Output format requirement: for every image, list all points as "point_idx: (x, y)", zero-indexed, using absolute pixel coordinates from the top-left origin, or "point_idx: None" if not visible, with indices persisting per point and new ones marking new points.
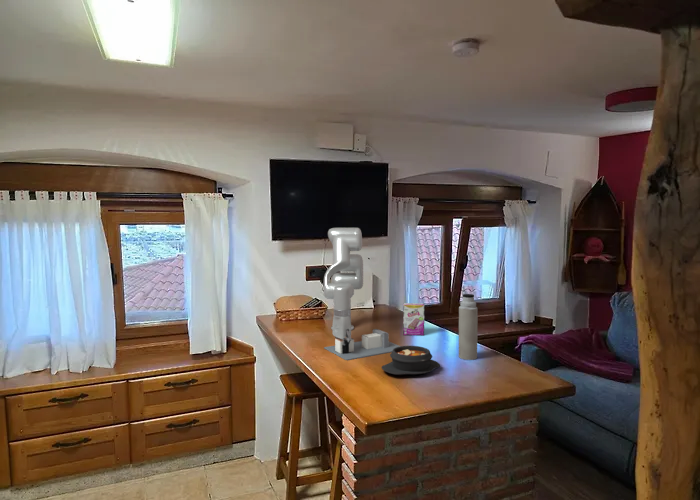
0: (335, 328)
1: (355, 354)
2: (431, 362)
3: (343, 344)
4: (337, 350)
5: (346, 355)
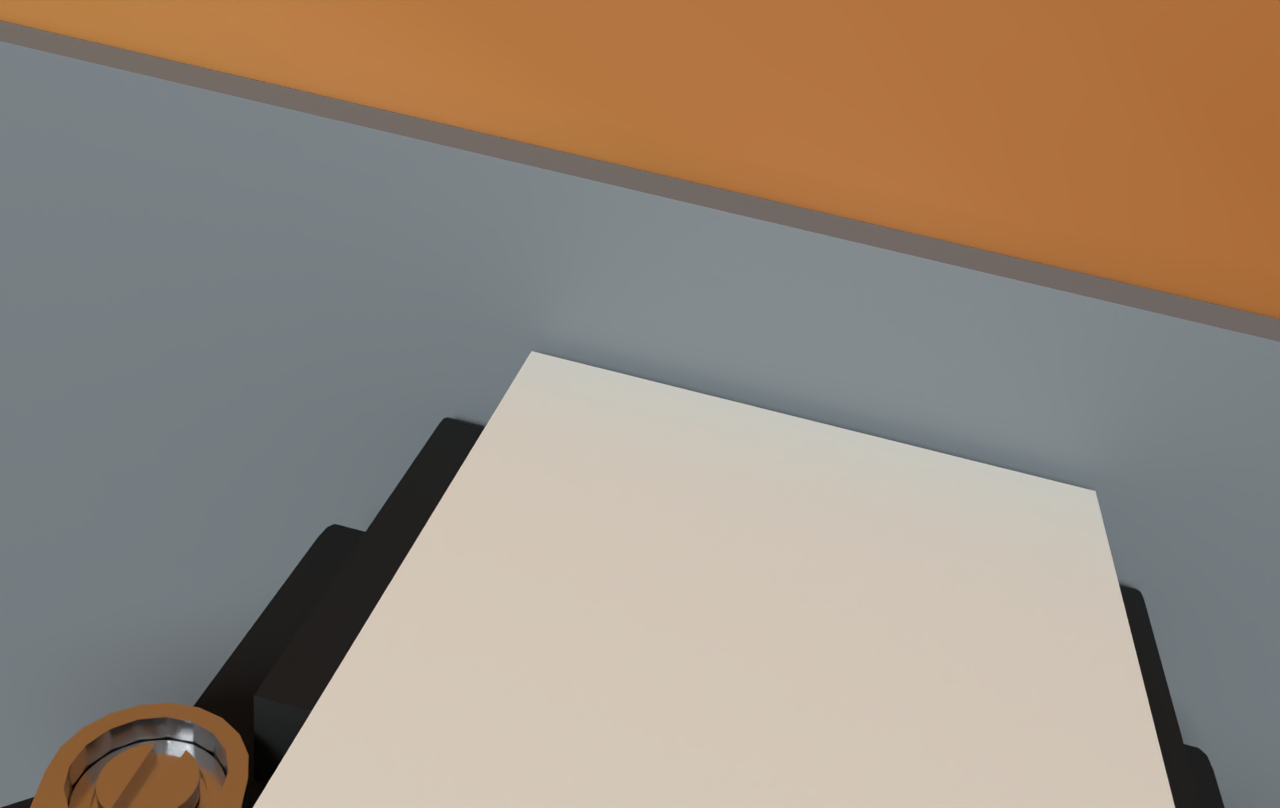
0: None
1: (127, 657)
2: None
3: (225, 775)
4: (839, 470)
5: (179, 362)
